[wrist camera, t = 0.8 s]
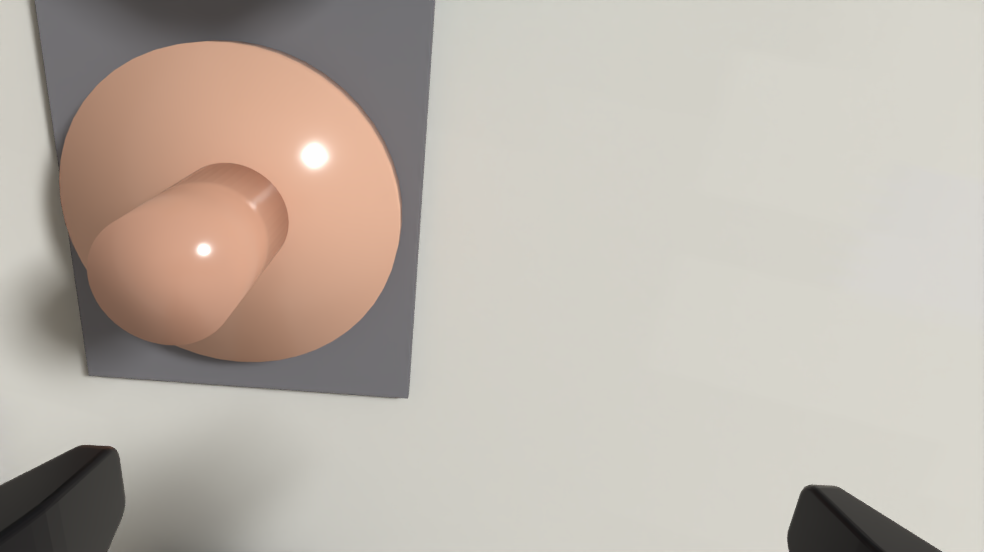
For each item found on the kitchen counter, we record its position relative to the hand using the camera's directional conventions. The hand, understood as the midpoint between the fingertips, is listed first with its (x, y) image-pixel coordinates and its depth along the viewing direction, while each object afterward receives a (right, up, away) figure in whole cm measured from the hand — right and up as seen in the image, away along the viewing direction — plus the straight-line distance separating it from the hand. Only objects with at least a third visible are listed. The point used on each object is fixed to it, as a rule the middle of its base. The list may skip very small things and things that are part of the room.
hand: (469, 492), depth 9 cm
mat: (-7, +5, +11) cm, 14 cm away
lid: (-7, +5, +10) cm, 13 cm away
